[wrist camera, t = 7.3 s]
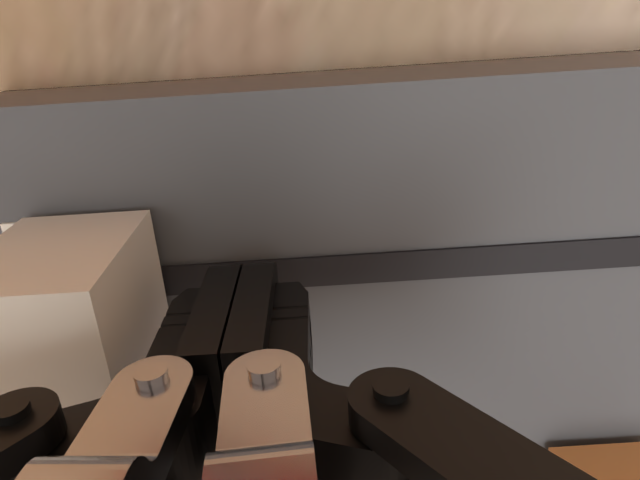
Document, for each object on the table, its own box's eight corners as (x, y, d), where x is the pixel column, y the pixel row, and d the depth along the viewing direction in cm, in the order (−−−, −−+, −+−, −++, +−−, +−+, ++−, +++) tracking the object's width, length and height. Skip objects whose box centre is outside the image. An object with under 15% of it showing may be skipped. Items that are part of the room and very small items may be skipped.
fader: (22, 217, 13) (-88, 302, 10) (150, 209, 13) (88, 291, 10) (63, 360, 15) (-18, 480, 11) (177, 353, 15) (133, 471, 11)
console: (3, 91, 15) (-67, 112, 12) (743, 43, 15) (844, 54, 12) (126, 537, 22) (98, 617, 19) (639, 505, 22) (689, 581, 19)
